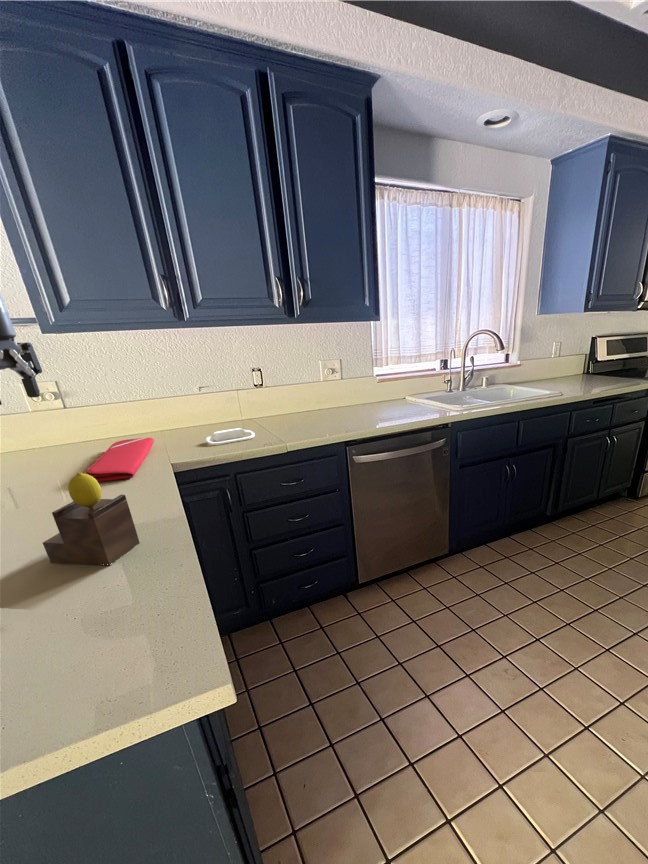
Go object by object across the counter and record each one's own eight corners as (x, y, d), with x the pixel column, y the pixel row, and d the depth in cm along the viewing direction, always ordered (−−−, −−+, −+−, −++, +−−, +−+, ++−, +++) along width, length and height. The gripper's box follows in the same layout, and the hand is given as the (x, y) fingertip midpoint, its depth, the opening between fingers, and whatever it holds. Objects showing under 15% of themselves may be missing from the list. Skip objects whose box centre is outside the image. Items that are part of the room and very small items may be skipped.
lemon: (88, 515, 87) (75, 478, 84) (69, 511, 89) (56, 475, 86) (112, 505, 92) (101, 469, 89) (94, 501, 94) (82, 467, 90)
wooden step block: (50, 562, 92) (29, 511, 87) (85, 540, 101) (67, 492, 96) (110, 565, 90) (91, 513, 85) (139, 542, 99) (125, 494, 94)
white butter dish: (209, 449, 172) (208, 441, 170) (203, 441, 177) (202, 432, 175) (257, 441, 183) (257, 433, 180) (250, 432, 188) (250, 425, 185)
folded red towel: (80, 484, 135) (76, 473, 134) (113, 449, 171) (111, 440, 169) (134, 478, 139) (131, 467, 137) (156, 445, 175) (154, 436, 173)
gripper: (-1, 311, 84) (29, 394, 91) (-80, 311, 71) (-37, 408, 78) (33, 310, 83) (61, 394, 90) (-41, 310, 71) (-1, 408, 77)
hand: (15, 401), depth 84 cm, fingers open, 8 cm apart
